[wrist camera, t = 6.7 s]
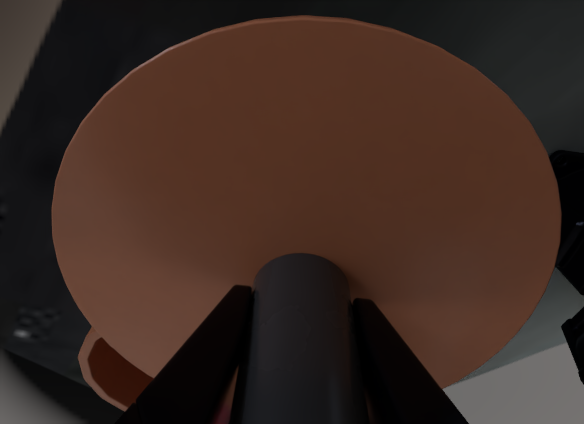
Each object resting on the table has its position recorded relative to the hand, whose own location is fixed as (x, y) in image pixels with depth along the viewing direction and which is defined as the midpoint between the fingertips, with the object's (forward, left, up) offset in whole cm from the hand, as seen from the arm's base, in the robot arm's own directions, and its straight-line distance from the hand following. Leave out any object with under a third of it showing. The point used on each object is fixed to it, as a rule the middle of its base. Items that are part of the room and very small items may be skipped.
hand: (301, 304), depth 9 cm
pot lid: (0, 0, -1) cm, 1 cm away
